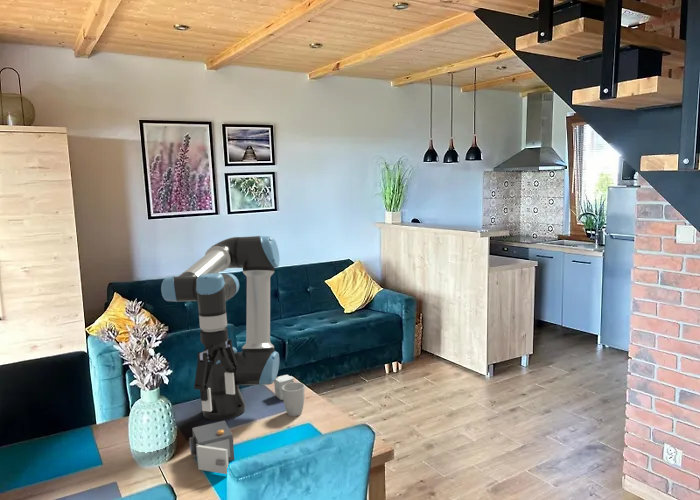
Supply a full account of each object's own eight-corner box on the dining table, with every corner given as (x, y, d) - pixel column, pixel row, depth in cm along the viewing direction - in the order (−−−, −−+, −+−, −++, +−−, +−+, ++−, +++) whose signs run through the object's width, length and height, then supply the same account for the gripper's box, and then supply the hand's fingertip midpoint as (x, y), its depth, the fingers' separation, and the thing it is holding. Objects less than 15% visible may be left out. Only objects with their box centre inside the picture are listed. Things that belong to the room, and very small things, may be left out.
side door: (198, 466, 152) (196, 443, 151) (229, 472, 148) (228, 448, 147) (193, 471, 150) (191, 447, 149) (225, 476, 146) (223, 452, 145)
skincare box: (295, 396, 202) (293, 378, 201) (280, 400, 199) (279, 382, 198) (288, 391, 207) (287, 374, 207) (274, 395, 204) (273, 377, 204)
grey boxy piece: (189, 453, 161) (187, 426, 160) (226, 444, 166) (224, 418, 165) (195, 470, 151) (193, 441, 150) (234, 459, 156) (232, 432, 155)
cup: (309, 409, 190) (308, 383, 188) (300, 419, 182) (298, 391, 181) (289, 407, 192) (287, 381, 191) (279, 416, 185) (277, 389, 184)
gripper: (225, 317, 159) (230, 385, 162) (176, 339, 137) (182, 418, 140) (246, 318, 157) (251, 387, 160) (200, 341, 135) (206, 421, 137)
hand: (219, 401), depth 150 cm, fingers open, 11 cm apart
